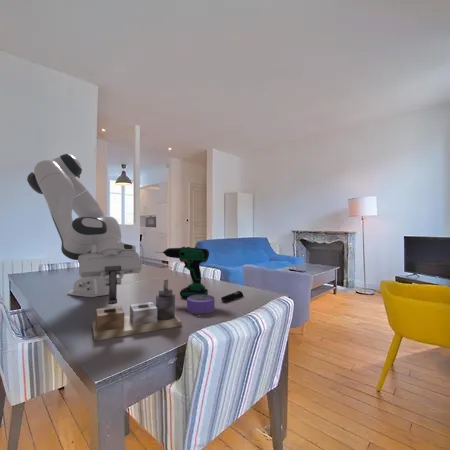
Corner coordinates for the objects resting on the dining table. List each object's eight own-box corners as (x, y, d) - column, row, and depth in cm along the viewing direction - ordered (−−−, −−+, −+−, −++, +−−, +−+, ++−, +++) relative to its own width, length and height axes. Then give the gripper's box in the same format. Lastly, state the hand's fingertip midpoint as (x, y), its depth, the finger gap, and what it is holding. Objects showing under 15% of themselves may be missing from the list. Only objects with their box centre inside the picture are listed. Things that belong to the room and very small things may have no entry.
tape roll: (187, 305, 118) (188, 294, 118) (213, 305, 119) (214, 294, 119) (185, 314, 106) (186, 301, 106) (214, 314, 107) (215, 301, 107)
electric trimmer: (218, 302, 124) (219, 295, 124) (237, 295, 136) (238, 289, 136) (225, 304, 122) (225, 297, 122) (243, 297, 134) (244, 290, 134)
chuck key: (104, 305, 87) (105, 267, 87) (104, 302, 89) (104, 266, 89) (121, 303, 89) (121, 266, 89) (120, 300, 92) (120, 264, 91)
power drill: (205, 299, 126) (206, 247, 126) (150, 295, 132) (151, 245, 132) (208, 296, 131) (209, 246, 131) (155, 292, 137) (156, 244, 137)
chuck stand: (94, 341, 80) (95, 290, 80) (92, 325, 93) (93, 281, 92) (181, 325, 94) (182, 282, 94) (170, 313, 106) (170, 275, 106)
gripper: (78, 247, 90) (77, 282, 82) (139, 245, 100) (144, 276, 91) (78, 259, 94) (77, 292, 86) (137, 255, 104) (142, 286, 95)
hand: (112, 284), depth 89 cm, fingers closed on chuck key, 2 cm apart
